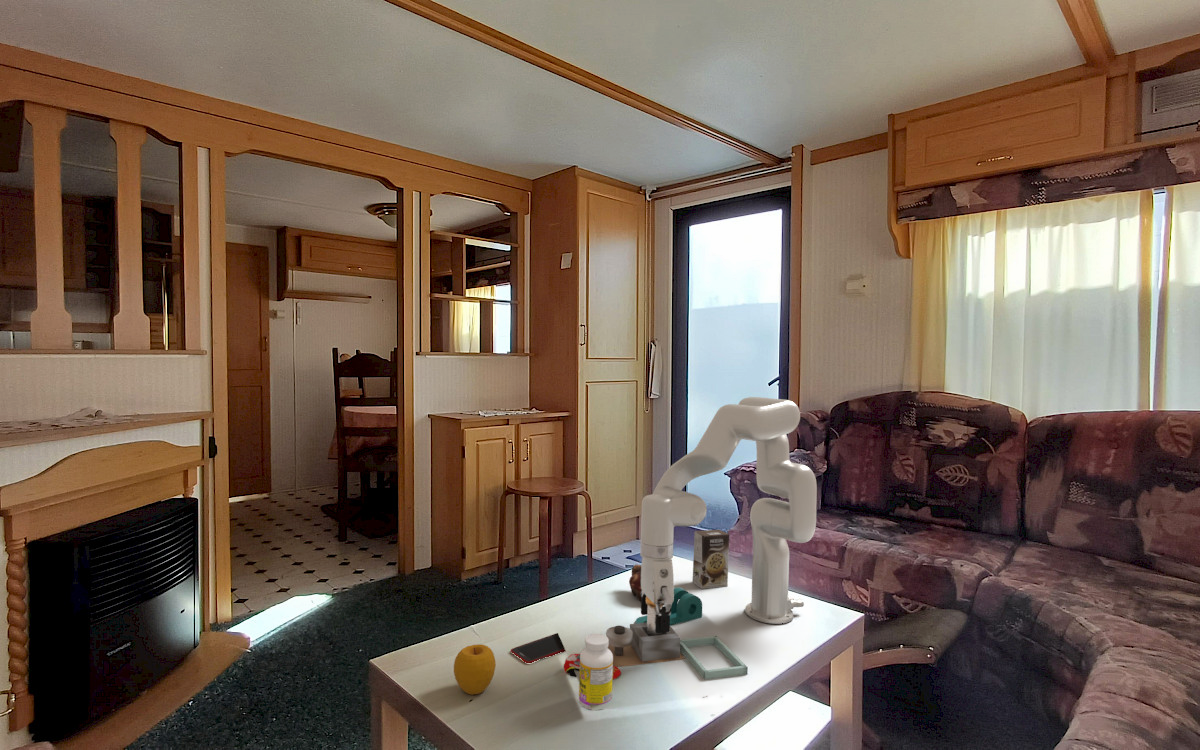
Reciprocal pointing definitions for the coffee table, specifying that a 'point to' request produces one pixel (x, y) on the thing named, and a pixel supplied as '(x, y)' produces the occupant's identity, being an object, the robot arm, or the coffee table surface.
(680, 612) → the bracket
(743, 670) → the tray
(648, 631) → the pin
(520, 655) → the cell phone
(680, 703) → the coffee table surface
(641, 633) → the square socket fixture board
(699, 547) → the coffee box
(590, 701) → the supplement bottle
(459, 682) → the apple
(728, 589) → the coffee table surface
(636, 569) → the green brown ocarina
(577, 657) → the race car
